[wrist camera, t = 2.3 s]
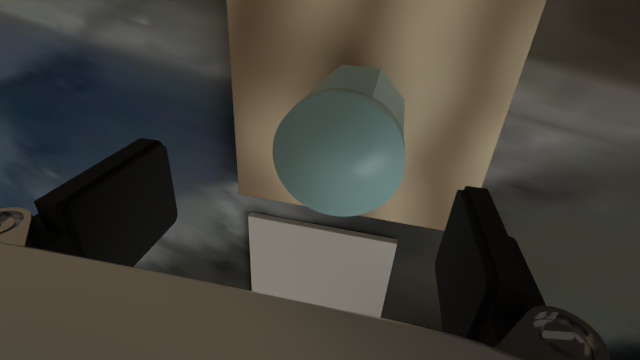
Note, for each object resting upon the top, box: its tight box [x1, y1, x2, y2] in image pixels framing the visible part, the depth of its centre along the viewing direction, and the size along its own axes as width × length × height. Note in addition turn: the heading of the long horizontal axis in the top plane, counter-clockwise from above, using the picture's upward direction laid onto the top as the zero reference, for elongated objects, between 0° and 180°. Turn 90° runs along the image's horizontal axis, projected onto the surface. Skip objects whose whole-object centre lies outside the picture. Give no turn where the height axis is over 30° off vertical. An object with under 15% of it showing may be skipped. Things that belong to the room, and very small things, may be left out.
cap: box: [272, 64, 405, 217], centre depth 16 cm, size 5×5×6 cm
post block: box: [227, 0, 546, 231], centre depth 18 cm, size 16×16×9 cm
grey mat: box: [248, 212, 397, 318], centre depth 31 cm, size 12×12×1 cm
